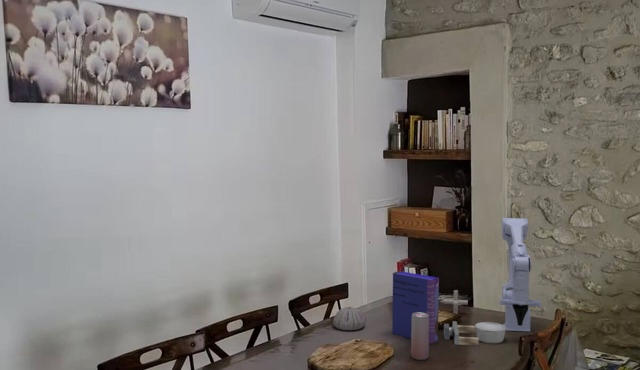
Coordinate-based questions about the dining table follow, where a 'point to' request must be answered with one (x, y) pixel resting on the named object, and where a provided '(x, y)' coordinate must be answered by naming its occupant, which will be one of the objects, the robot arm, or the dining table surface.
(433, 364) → the dining table surface
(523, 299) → the robot arm
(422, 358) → the beverage can
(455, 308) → the pipe connector
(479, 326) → the ramekin
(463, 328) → the pair of beige bars
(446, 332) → the grey h-shaped piece
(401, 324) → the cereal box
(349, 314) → the sea urchin shell
